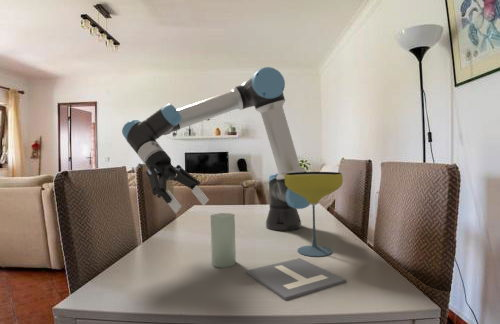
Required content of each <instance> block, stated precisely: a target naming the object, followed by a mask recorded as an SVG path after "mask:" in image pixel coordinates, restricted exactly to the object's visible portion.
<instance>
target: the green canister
mask: <svg viewBox="0 0 500 324" xmlns="http://www.w3.org/2000/svg"><path fill="white" fill-rule="evenodd" d="M235 220H236V218H235V214H234V213H230V212H229V213H228V212H224V213H223V212H221V213H213V214H210V240H211V241H210V246H211V247H210V248H211V265H212V267H215V268H219V269H220V268H223V269H224V268H229V267H233V266H235V265H236V263H237V256H236V251H237V250H236V221H235Z"/></svg>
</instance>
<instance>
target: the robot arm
mask: <svg viewBox="0 0 500 324" xmlns="http://www.w3.org/2000/svg"><path fill="white" fill-rule="evenodd" d="M285 85H286V82H285V78H284V76H283V74H282V73H281V72H280V71H279V70H278V69H276V68H274V67H271V66H265V67H262V68H260V69H258V70H256V71H254V73H253V74H252V75H251V76H250V77H249V78H248V79H247V80H245V81H244V82H243V83H240V84H239V85H236V86H233V87H232V89H231V90H230V91H227V92H226V91H225V92H224V93H221V94H218V95H214V96H212V97H209V98H206V99H203V100H200V101H197V102H194V103H192V104H188V105H186V106H182V107H180V108H176V107H175V106H174V105H173V104H172V103H167V104H166V105H164V106H162V107H160V109H158V110H157V111H156V112H154V113H152V114H151V115H150V116H149V117H147V118H146V119H145V120H142V121H140V120H139V119H132V120H129V121H127V122H126V123H125V124H124V125H123V127H122V129H121V133H122V135H123V137H124V138H125V140H126V142H127V143H128V145H130V147H131V148H132V149H133V150H134V152H135V153H136V154H137V156H138V157H139V158H140V160H141V161H142V163H143V164H144V165H145V166H146V168H147V171H146V173H145V174H146V175H147V177H148V179H149V184H150V188H151V192H152V195H154V196H156V197H157V198H159V199H161V197H162V199H163V200H164V201H165V203H166V204H167V205H168V206H169V207H170V209H171V210H172V211H173V212H174V214H177V213H178V212H179V210H180V209H182V205H181V203H180V202H179V201H178V199H177V198H176V197H175V196H174V195H173V193H172V191H170V189H167V181H174V182H179V183H180V184H181V185H184V186H185V187H187V188H189V190H190V189H191V193H192V194H193V195H194V196H195V197H196V199H197V200H198V201H199V203H201V205H202V206H205V205H206V204H207V203H208V202H209V200H210V199H209V198H208V196H207V195H206V194H205V193H204V192H203V190H202V189H201V188H200V187H199V186H200V185H201V181H200V180H198V179H197V178H196V177H194V176H193V175H192V174H190V173H189V172H188V171H186V170H185V169H184V168H183V167H182V166H181V165H179V164H177V165H176V166H174V165H172V158H171V157H170V156H169V155H168V154H167V152H166V151H165V150H164V149H163V148H162V146H161V145H160V144H159V142H158V141H157V139H160V137H162V136H167V135H169V134H171V133H173V132H176V131H179V130H181V129H184V128H186V127H190V126H193V125H196V124H198V123H201V122H204V121H207V120H209V119H212V118H214V117H218V116H220V115H223V114H226V113H229V112H231V111H234V110H237V109H238V110H240V111H242V110H245V109H247V108H248V109H249V108H252V107H254V109H255V110H256V111H257V112H258V113H260V115H261V118H262V122H263V125H264V128H265V131H266V135H267V138H268V142H269V144H270V148H271V152H272V156H273V158H274V159H273V160H274V163H275V165H276V169H277V172H278V173H273V174H270V175H269V177H268V195H269V197H268V198H269V199H268V201H269V210H268V213H267V217H266V221H265V228H266V229H269V230H272V231H280V232H281V231H287V232H288V231H295V230H298V229H300V228H301V227H302V220H301V218H300V215H299V212H298V210H302V209H305V208H308V207H310V206H311V204H310V203H309V202H308V200H307V199H306V198H304V197H302V196H301V195H299V194H297V193H295V192H293V191H291V190H290V189H289V188H288V187H287V186H286V185H285V174H287V173H296V172H307V171H306V169H305V168H303V167H301V166H300V161H299V159H298V156H297V151H296V149H295V145H294V142H293V139H292V135H291V130H290V128H289V127H290V126H289V124H288V123H289V122H288V120H287V118H286V117H287V116H286V113H285V110H284V104H285V102H286V98H285V96H284V91H285V87H286V86H285Z"/></svg>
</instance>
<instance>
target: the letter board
mask: <svg viewBox="0 0 500 324" xmlns="http://www.w3.org/2000/svg"><path fill="white" fill-rule="evenodd" d="M245 274H247V275H248V276H250V277H251V278H252V279H254V280H255V281H257V282H258V283H260V284H261V285H263V286H264V287H265V288H267V289H268V290H270V291H271V292H273V293H274V294H276V295H277V296H278V297H280V298H282V300H284V301H286V300H290V299H294V298H297V297H300V296H303V295H306V294H307V295H308V294H311V293H313V292H317V291H320V290H323V289H326V288H329V287H333V286H337V285H339V284H343V283H347V279H346V278H344V277H343V276H340V275H337V274H336V273H334V272H331V271H329V270H327V269H324V268H322V267H320V266H318V265H315V264H313V263H311V262H310V261H307V260H305V259H303V258H300V257H299V258H296V259H290V260H286V261H282V262H278V263H274V264H273V263H272V264H268V265H264V266H259V267H255V268H251V269H248V270H247V269H246V270H245Z"/></svg>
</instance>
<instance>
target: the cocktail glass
mask: <svg viewBox="0 0 500 324" xmlns="http://www.w3.org/2000/svg"><path fill="white" fill-rule="evenodd" d="M343 180H344V179H343V173H341V172H334V171H306V172H296V173H287V174H285V185H286V186H287V187H288V188H289V189H290V190H291V191H293V192H295V193H297V194H299V195H301V196H302V197H304V198H306V199H307V200H308V202H309V203H310V206H312V242H311V243H312V244H311V245H303V246H300V247H299V248H297V252H298V254H300V255H303V256H305V257H312V258H313V257H314V258H321V257H327V256H330V255H331V254H332V253H333V251H332V249H331V248H329V247H326V246H321V245H318V244H317V239H316V218H315V217H316V214H315V213H316V210H315V206H317V205H318V204H319V202H320V201H321V199H323V198H325V197H326V196H328V195H331V194H332V193H335V192H336V191H337V190H339V189H340V188H341V186H342V185H343Z"/></svg>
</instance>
